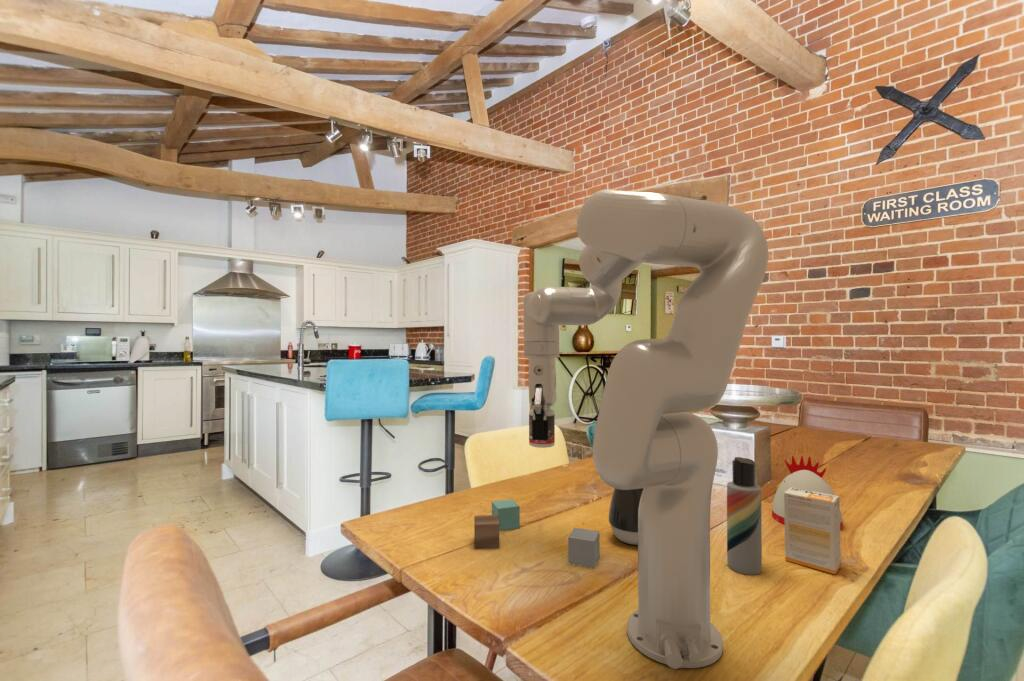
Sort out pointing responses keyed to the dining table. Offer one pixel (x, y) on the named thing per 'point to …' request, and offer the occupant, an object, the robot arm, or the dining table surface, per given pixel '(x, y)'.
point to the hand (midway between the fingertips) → (542, 435)
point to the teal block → (507, 514)
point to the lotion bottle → (744, 519)
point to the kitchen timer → (800, 485)
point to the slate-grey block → (583, 547)
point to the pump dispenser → (625, 514)
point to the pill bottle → (551, 429)
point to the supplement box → (812, 529)
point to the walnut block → (486, 532)
